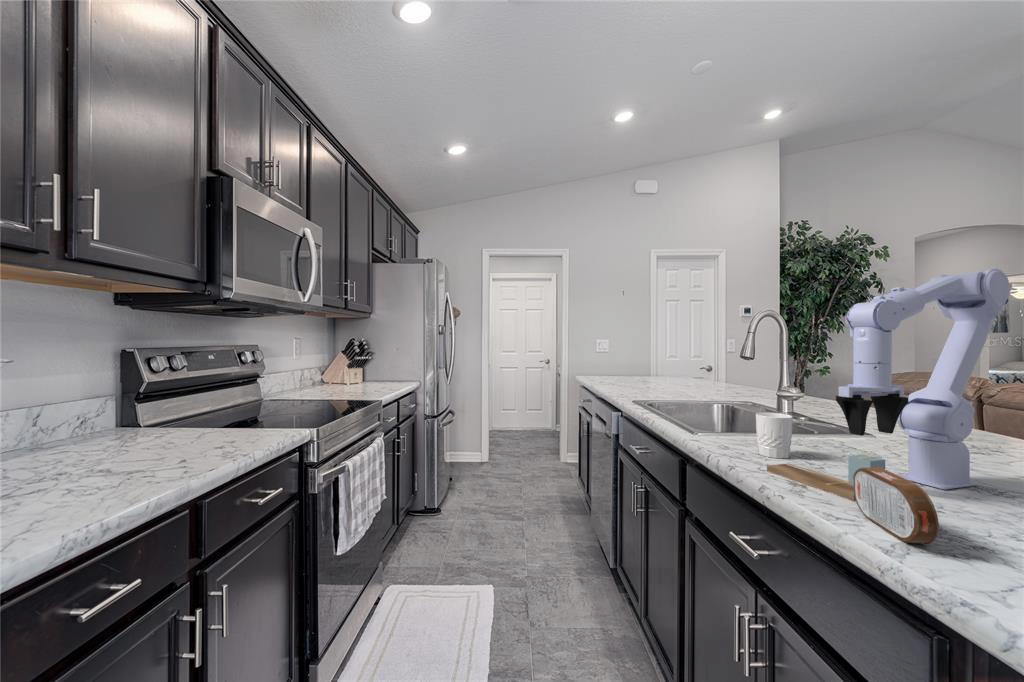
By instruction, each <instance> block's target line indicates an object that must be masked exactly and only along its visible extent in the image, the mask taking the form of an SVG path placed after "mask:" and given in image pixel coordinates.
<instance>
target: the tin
mask: <svg viewBox="0 0 1024 682" xmlns="http://www.w3.org/2000/svg"><path fill="white" fill-rule="evenodd" d="M898 475H899V474H896V473H894V472H891V471H889V470H888V469H886V468H885V469H883V468H881V467H874V468H860V469H858V470H856V472H855V473H854V476H853V480H854V495H855V500H856V501H855V502H856V505H857V506H858V507H857V508H858V509H859V510H860V512H861V513H862V514H863V516H864V517H865V518H866V519H868V520H869V521H870V522H871V523H874V525H876V526H878V527H879V528H880V529H883V530H884V531H885V532H886V533H889V534H890V535H891V536H893V537H894V538H896V539H897V540H899V541H900V540H901V541H900V542H902V543H907V544H921V545H930V544H932V543H934V542H935V541H936V540H937V538H938V536H939V530H940V527H939V526H940V523H939V518H938V512H937V510H936V508H935V505H934V504H933V501H932V499H931V498H930V496H929V495H928V494H927V492H926V491H925V490H924V489H923V488H922V487H921V486H920V485H919V484H917V483H916V482H914V481H910V480H907V479H905V478H903V477H900V476H898Z"/></svg>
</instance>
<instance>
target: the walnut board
mask: <svg viewBox="0 0 1024 682" xmlns="http://www.w3.org/2000/svg"><path fill="white" fill-rule="evenodd" d="M766 471H767V472H768V471H769V473H771V472H772V474H774V473H776V474H775V475H777V474H779V475H778V476H780V475H782V476H781V477H783V476H785V477H784V478H786V477H788V478H787V479H789V478H790V479H789V480H792V479H793V480H792V481H794V480H796V481H795V482H797V481H798V482H797V483H801V484H803V485H807V486H810V487H812V486H813V488H815V487H816V488H815V489H818V488H819V489H818V490H821V489H822V490H821V491H824V490H825V491H824V492H827V491H828V492H827V493H830V492H831V493H830V494H832V493H834V494H833V495H835V494H837V495H836V496H838V495H839V497H841V496H842V497H841V498H844V497H845V499H847V498H848V500H851V501H853V502H856V500H855V495H854V483H851V482H848V480H844V479H840V478H838V477H834V476H831V475H828V474H824V473H820V472H818V471H815V470H811V469H808V468H804V467H801V466H799V465H796V464H795V465H794V464H792V463H791V464H790V463H780V464H778V463H777V464H769V465H766Z"/></svg>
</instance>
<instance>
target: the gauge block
mask: <svg viewBox="0 0 1024 682" xmlns="http://www.w3.org/2000/svg"><path fill="white" fill-rule="evenodd" d="M847 459H848V471H847V472H848V475H847V476H848V480H847V481H848V482H851V483H854V480H853V476H854V473H855V472H856V470H858V469H860V468H874V467H881V468H883V469H886V459H883V458H880V457H875V456H872V455H871V456H870V455H866V454H856V455H855V454H854V455H848V458H847Z"/></svg>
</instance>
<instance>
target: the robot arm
mask: <svg viewBox="0 0 1024 682" xmlns="http://www.w3.org/2000/svg"><path fill="white" fill-rule="evenodd" d="M1011 291H1012V290H1011V285H1010V282H1009V277H1008V276H1007V275H1006V273H1004V271H1003V270H1001V269H999V268H989V269H988V270H980V271H973V272H963V273H955V274H941V275H939V276H935V277H932V278H930V280H929V281H927V282H925V283H923V284H922V285H918V286H917V287H915V288H910V287H904V286H897V287H894V288H891V289H890V292H889V293H887V294H885V295H876V296H874V297H873V298H872V299H873V300H870V301H869V302H868V301H867V302H858V303H856V304H853V306H851V307H850V308H849V310H848V311H847V314H846V316H845V318H844V320H845V323H846V326H847V328H848V330H849V337H850V338H851V340H853V341H852V342H853V344H852V345H853V346H852V347H853V348H852V349H853V352H852V355H853V356H852V363H853V365H852V383H848V384H847V385H842V386H841V385H840V386H838V395H835V401H836V402H837V404H838V405H839V407H840V409H841V411H842V413H843V415H844V417H845V420H846V423H847V428H848V430H849V434H851V435H854V436H855V435H856V436H864V435H865V433H866V426H867V419H868V415H869V414H868V413H869V411H870V410H871V406H872V405H873V406H874V410H875V414H876V425H877V430H878V432H879V433H885V434H890V435H891V434H893V433H894V431H895V429H896V424H898V426H899V428H900V429H902V431H904V433H903V434H904V435H907V436H908V460H907V461H908V473H904V474H903V473H902V474H897V475H898V476H900V477H903V478H905V479H907V480H909V481H911V482H914V483H916V484H917V483H918V484H922V485H925V486H929V487H933V488H937V489H940V490H951V489H959V488H966V487H972V486H977V483H976V482H973V481H970V478H971V477H970V476H971V475H970V473H971V472H970V471H971V470H970V469H971V465H970V464H971V462H970V461H971V460H970V458H971V454H970V450H969V448H968V446H967V445H966V444H965V443H964V440H965V439H967V438H968V437H969V436H970V435H971V433H972V431H973V429H974V428H973V427H974V421H973V420H974V415H975V413H976V409H975V407H974V405H972V404H971V402H969V401H968V400H967V399H966V398H965V397H963V395H964V392H965V390H966V388H967V386H968V383H969V380H970V378H971V377H972V374H973V372H974V370H975V367H976V365H977V363H978V360H979V358H980V356H981V353H982V351H983V349H984V346H985V344H986V342H987V340H988V337H989V334H990V333H991V330H992V328H993V326H994V323H995V319H996V318H997V317H998V316H1000V315H1001V314H1002V313H1003V310H1004V307H1005V305H1006V303H1007V301H1008V298H1009V296H1010V294H1011ZM932 302H935V304H937V306H938V308H939V309H940V311H941V313H942V314H943V315H944V317H945V318H947V319H950V320H952V321H954V323H953V326H952V328H951V331H950V333H949V335H948V337H947V340H946V342H945V344H944V347H943V348H942V351H941V353H940V354H939V358H938V360H937V362H936V364H935V367H934V369H933V371H932V373H931V376H930V378H929V379H928V382H927V384H926V387H923V388H921V389H919V390H917V391H914V392H911V393H910V394H909V395H908V397H906V396H905V386H904V385H897V384H892V378H893V377H892V376H893V375H892V373H893V371H892V366H893V364H892V362H893V360H892V359H893V357H892V356H893V353H892V352H893V351H892V350H893V331H896V329H898V327H899V326H900V324H901V322H902V321H905V320H907V319H909V318H911V317H913V316H915V315H918V314H920V313H921V312H922V311H923V310H924V309H925V305H927V304H930V303H932ZM864 397H870V399H871V400H870V399H864Z"/></svg>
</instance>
